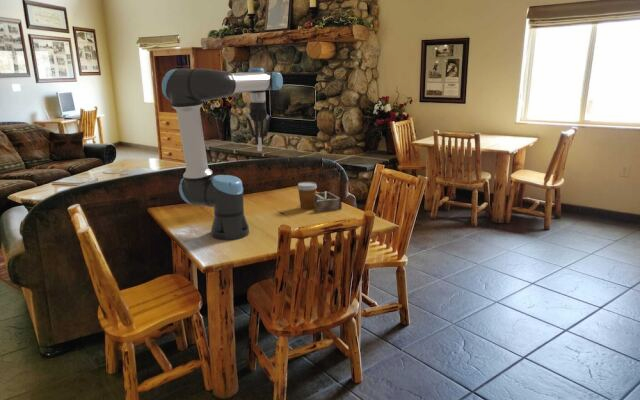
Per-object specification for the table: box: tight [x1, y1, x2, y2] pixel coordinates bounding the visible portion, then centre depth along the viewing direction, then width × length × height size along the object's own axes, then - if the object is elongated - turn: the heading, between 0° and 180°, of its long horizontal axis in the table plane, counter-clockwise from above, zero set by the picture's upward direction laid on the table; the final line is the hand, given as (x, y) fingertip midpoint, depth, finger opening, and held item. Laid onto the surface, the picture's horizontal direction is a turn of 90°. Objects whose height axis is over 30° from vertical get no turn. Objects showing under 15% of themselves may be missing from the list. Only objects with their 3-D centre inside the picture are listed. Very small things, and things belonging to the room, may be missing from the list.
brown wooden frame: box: [315, 191, 343, 213], centre depth 220 cm, size 12×16×5 cm
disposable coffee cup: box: [296, 181, 318, 211], centre depth 217 cm, size 10×10×12 cm
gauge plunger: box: [314, 190, 327, 206], centre depth 220 cm, size 6×11×9 cm, turn 22°
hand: (259, 150), depth 221 cm, fingers closed
